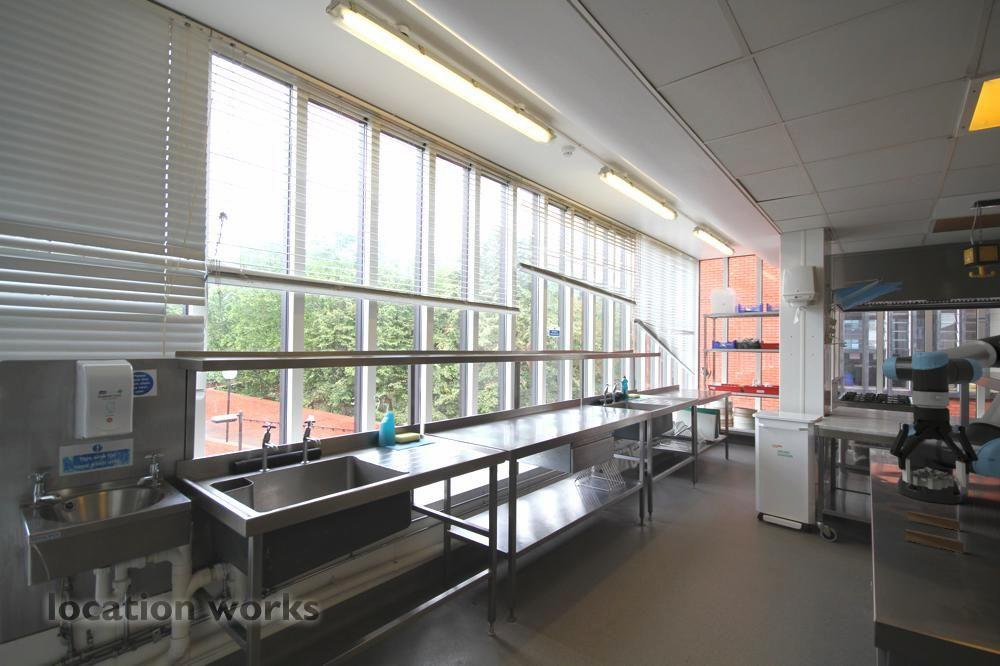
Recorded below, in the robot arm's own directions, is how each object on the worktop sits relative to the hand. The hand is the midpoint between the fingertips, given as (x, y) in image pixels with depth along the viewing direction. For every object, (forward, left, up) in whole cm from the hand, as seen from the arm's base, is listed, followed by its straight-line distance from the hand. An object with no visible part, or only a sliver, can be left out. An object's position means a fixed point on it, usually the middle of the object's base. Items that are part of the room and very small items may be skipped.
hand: (933, 483), depth 128 cm
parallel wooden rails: (+7, +17, -9) cm, 20 cm away
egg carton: (0, 0, -1) cm, 1 cm away
